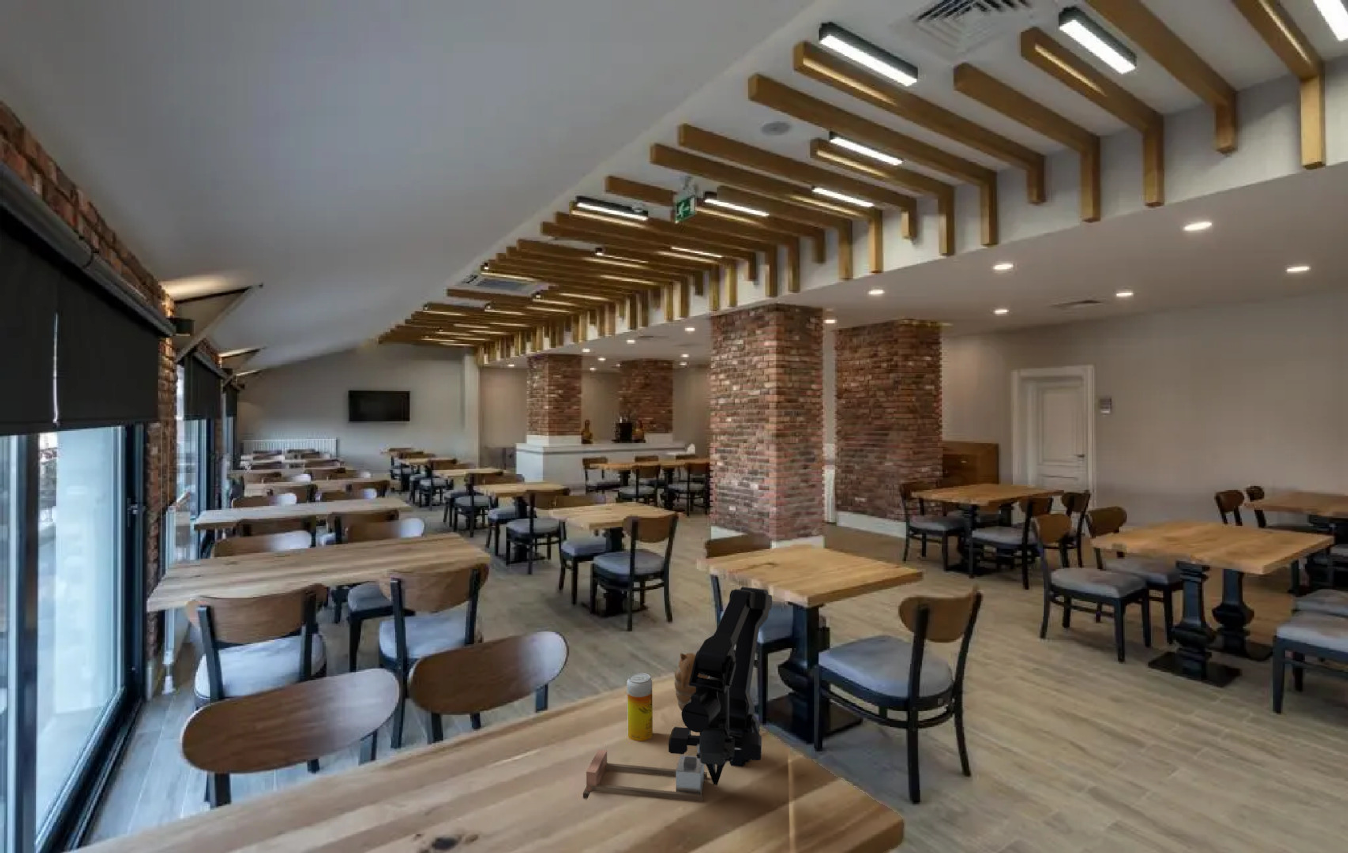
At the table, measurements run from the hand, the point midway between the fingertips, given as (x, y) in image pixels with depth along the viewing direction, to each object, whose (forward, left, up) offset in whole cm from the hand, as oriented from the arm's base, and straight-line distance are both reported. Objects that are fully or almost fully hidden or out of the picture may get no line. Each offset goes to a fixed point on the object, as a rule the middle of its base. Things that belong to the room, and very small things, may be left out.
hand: (715, 783), depth 128 cm
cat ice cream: (-29, -9, -3) cm, 31 cm away
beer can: (-19, -20, -3) cm, 28 cm away
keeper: (0, -5, -1) cm, 5 cm away
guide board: (0, -14, -2) cm, 15 cm away
